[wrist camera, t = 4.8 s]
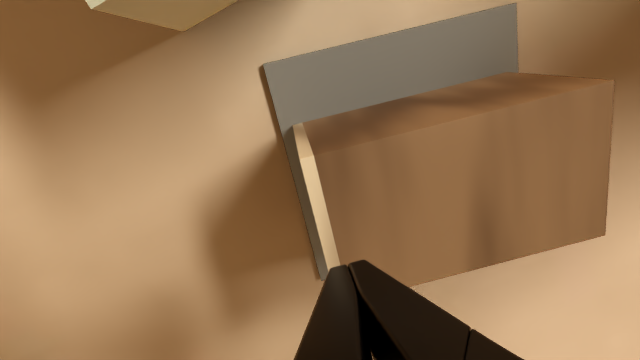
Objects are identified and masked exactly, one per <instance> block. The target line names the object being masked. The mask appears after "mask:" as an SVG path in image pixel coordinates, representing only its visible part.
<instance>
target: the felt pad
mask: <svg viewBox="0 0 640 360" xmlns="http://www.w3.org/2000/svg"><path fill="white" fill-rule="evenodd" d="M263 67H264V70H265V74H266V78H267V81H268V85H269V89H270V93H271V96H272V100H273V104H274V107H275V111H276V115H277V119H278V122H279V126H280V130H281V133H282V137H283V141H284V145H285V148H286V152H287V156H288V159H289V163H290V167H291V171H292V174H293V178H294V182H295V185H296V189H297V193H298V197H299V200H300V204H301V208H302V211H303V215H304V219H305V223H306V226H307V230H308V234H309V237H310V241H311V245H312V249H313V252H314V256H315V260H316V263H317V267H318V271H319V275H320V278H321V281H323V280H326V277H327V275H328V268H327V264H326V260H325V256H324V253H323V249H322V245H321V241H320V237H319V233H318V229H317V225H316V222H315V218H314V214H313V210H312V206H311V202H310V198H309V194H308V191H307V187H306V183H305V179H304V175H303V171H302V167H301V163H300V159H299V155H298V150H297V145H296V140H295V135H294V130H293V125H295V124H299V123H303V122H307V121H311V120H315V119H319V118H323V117H327V116H331V115H335V114H339V113H343V112H347V111H351V110H355V109H359V108H363V107H367V106H371V105H376V104H380V103H384V102H388V101H392V100H396V99H400V98H404V97H408V96H412V95H416V94H420V93H424V92H428V91H432V90H436V89H440V88H444V87H448V86H452V85H456V84H460V83H464V82H468V81H472V80H477V79H481V78H485V77H489V76H493V75H497V74H501V73H505V72H514V73H518V42H517V8H516V3H513V4H509V5H505V6H501V7H497V8H493V9H488V10H484V11H480V12H476V13H472V14H468V15H464V16H460V17H455V18H451V19H447V20H443V21H439V22H435V23H431V24H427V25H422V26H418V27H414V28H410V29H406V30H402V31H398V32H393V33H389V34H385V35H381V36H377V37H373V38H369V39H365V40H360V41H356V42H352V43H348V44H344V45H340V46H336V47H332V48H327V49H323V50H319V51H315V52H311V53H307V54H303V55H299V56H294V57H290V58H286V59H282V60H278V61H274V62H270V63H266V64H263Z"/></svg>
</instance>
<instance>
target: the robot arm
mask: <svg viewBox="0 0 640 360" xmlns="http://www.w3.org/2000/svg"><path fill="white" fill-rule="evenodd" d="M371 353H372V354H371ZM372 356H373V358H372ZM373 359H374V360H524V359H522V358H520V357H518V356H517V355H515V354H513V353H512V352H510V351H508V350H507V349H505V348H503V347H502V346H500V345H498V344H497V343H495V342H493V341H492V340H490V339H488V338H487V337H485V336H484V335H482V334H481V333H479V332H478V331H476V330H474V329H472V330H471V328H470V327H469V326H468V325H466V324H465V323H463V322H462V321H460V320H459V319H457V318H455V317H454V316H452V315H451V314H449V313H448V312H446V311H445V310H443V309H441V308H440V307H438V306H437V305H435V304H434V303H432V302H430V301H429V300H427V299H426V298H424V297H423V296H421V295H420V294H418V293H416V292H415V291H413V290H412V289H410V288H409V287H407V286H406V285H404V284H402V283H401V282H399V281H398V280H396V279H395V278H393V277H392V276H390V275H388V274H387V273H385V272H384V271H382V270H381V269H379V268H377V267H376V266H374V265H373V264H371V263H370V262H368V261H367V260H364V259H363V260H359V261H355V262H351V263H349V264H348V266H347V265H345V264H344V265H340V266H336V267H332V268H330V270H329V272H328V275H327V277H326V280H325V282H324V285H323V287H322V290H321V292H320V295H319V297H318V300H317V302H316V305H315V307H314V310H313V312H312V315H311V317H310V320H309V322H308V325H307V327H306V330H305V332H304V335H303V338H302V340H301V343H300V345H299V348H298V350H297V353H296V355H295V358H294V360H373Z"/></svg>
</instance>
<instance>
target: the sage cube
mask: <svg viewBox="0 0 640 360" xmlns="http://www.w3.org/2000/svg"><path fill="white" fill-rule="evenodd" d="M85 1H86V2H87V4H88V5H89V7H90V8H91V9H92V10H96V11H100V12H105V13H109V14H113V15H117V16H121V17H125V18H129V19H133V20H137V21H141V22H146V23H150V24H154V25H158V26H162V27H166V28H170V29H174V30H178V31H182V32H184V31H186V30H188V29H190V28H191V27H193V26H195V25H197V24H198V23H200V22H202V21H203V20H205V19H207V18H209V17H210V16H212V15H214V14H215V13H217V12H219V11H221V10H222V9H224V8H226V7H228V6H229V5H231V4H233V3H234V2H236V1H238V0H85Z"/></svg>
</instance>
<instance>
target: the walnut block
mask: <svg viewBox="0 0 640 360" xmlns="http://www.w3.org/2000/svg"><path fill="white" fill-rule="evenodd" d="M614 86H615V80H606V79H593V78H580V77H566V76H553V75H540V74H527V73H514V72H505V73H501V74H497V75H493V76H489V77H485V78H481V79H477V80H472V81H468V82H464V83H460V84H456V85H452V86H448V87H444V88H440V89H436V90H432V91H428V92H424V93H420V94H416V95H412V96H408V97H404V98H400V99H396V100H392V101H388V102H384V103H380V104H376V105H371V106H367V107H363V108H359V109H355V110H351V111H347V112H343V113H339V114H335V115H331V116H327V117H323V118H319V119H315V120H311V121H307V122H303V123H299V124H295V125H293V130H294V135H295V140H296V145H297V150H298V155H299V159H300V163H301V167H302V171H303V175H304V179H305V183H306V187H307V191H308V194H309V198H310V202H311V206H312V210H313V214H314V218H315V222H316V225H317V229H318V233H319V237H320V241H321V245H322V249H323V253H324V256H325V260H326V264H327V268H328V272H329V270H330V268H332V267H336V266H340V265H344V264H345V265H347V266H348V264H349V263H351V262H355V261H359V260H363V259H364V260H367V261H368V262H370V263H371V264H373V265H374V266H376V267H377V268H379V269H381V270H382V271H384V272H385V273H387V274H388V275H390V276H392V277H393V278H395V279H396V280H398V281H399V282H401V283H402V284H404V285H406V286H407V287H411V286H414V285H418V284H422V283H426V282H430V281H433V280H437V279H441V278H445V277H449V276H452V275H456V274H460V273H464V272H468V271H471V270H475V269H479V268H483V267H487V266H490V265H494V264H498V263H502V262H506V261H509V260H513V259H517V258H521V257H525V256H528V255H532V254H536V253H540V252H544V251H547V250H551V249H555V248H559V247H563V246H566V245H570V244H574V243H578V242H582V241H585V240H589V239H593V238H597V237H601V236H604V235H605V231H606V215H607V199H608V183H609V167H610V151H611V135H612V119H613V102H614Z"/></svg>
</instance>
